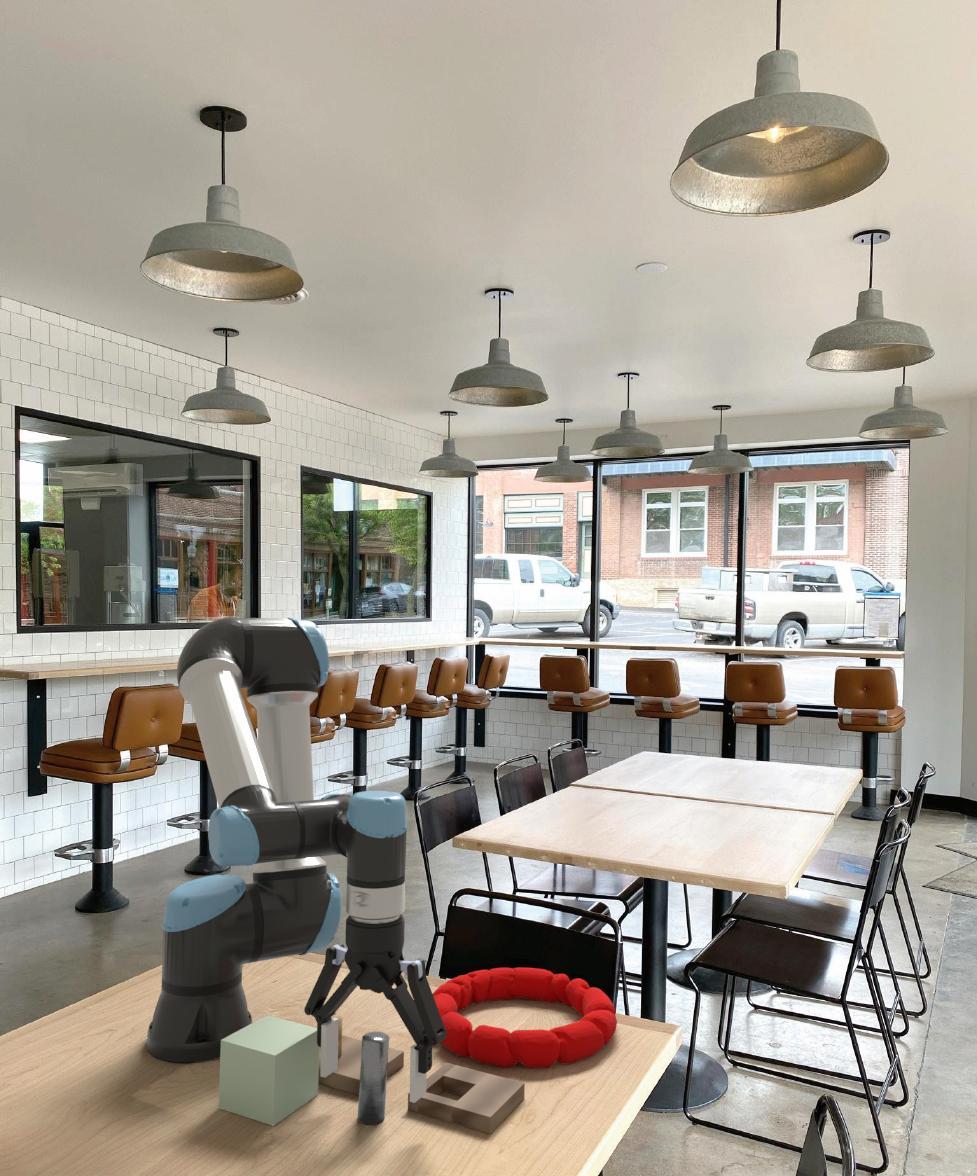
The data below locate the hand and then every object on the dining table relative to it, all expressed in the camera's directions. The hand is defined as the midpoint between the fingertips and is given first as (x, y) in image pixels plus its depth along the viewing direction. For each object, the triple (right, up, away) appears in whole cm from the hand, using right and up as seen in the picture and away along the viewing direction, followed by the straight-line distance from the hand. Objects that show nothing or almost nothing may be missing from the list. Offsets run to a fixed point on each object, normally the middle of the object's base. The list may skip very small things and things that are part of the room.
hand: (372, 1085), depth 118 cm
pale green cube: (-14, -4, +4) cm, 15 cm away
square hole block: (+12, -5, +4) cm, 13 cm away
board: (-5, -5, +12) cm, 14 cm away
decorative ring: (+20, -6, +28) cm, 35 cm away
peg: (0, -4, 0) cm, 4 cm away
